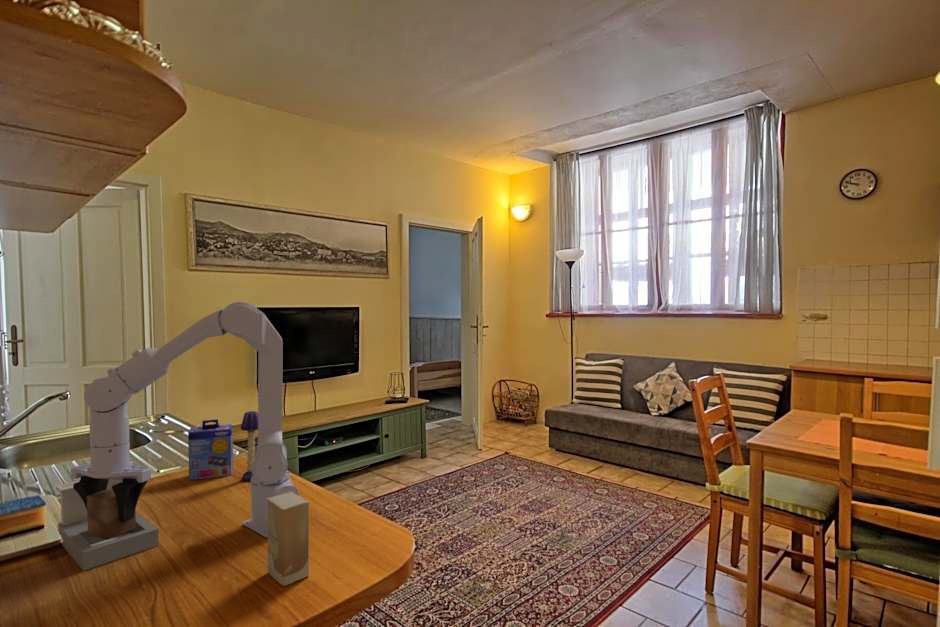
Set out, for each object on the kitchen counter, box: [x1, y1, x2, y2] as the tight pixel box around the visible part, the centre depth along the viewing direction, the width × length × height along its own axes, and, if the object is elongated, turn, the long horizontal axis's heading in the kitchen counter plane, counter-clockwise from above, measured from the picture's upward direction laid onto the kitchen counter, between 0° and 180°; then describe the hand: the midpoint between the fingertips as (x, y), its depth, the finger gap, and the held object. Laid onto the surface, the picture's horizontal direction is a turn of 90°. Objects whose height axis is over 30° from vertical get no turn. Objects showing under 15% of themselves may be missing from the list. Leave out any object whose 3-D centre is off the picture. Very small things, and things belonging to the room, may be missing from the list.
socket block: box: [55, 479, 160, 571], centre depth 92 cm, size 18×11×10 cm, turn 50°
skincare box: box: [267, 492, 310, 587], centre depth 80 cm, size 6×4×12 cm
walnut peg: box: [87, 488, 137, 540], centre depth 90 cm, size 5×5×7 cm
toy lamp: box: [240, 410, 258, 482], centre depth 125 cm, size 5×5×17 cm
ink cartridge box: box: [187, 419, 234, 481], centre depth 128 cm, size 10×6×14 cm, turn 113°
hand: (112, 519), depth 90 cm, fingers closed on walnut peg, 6 cm apart
